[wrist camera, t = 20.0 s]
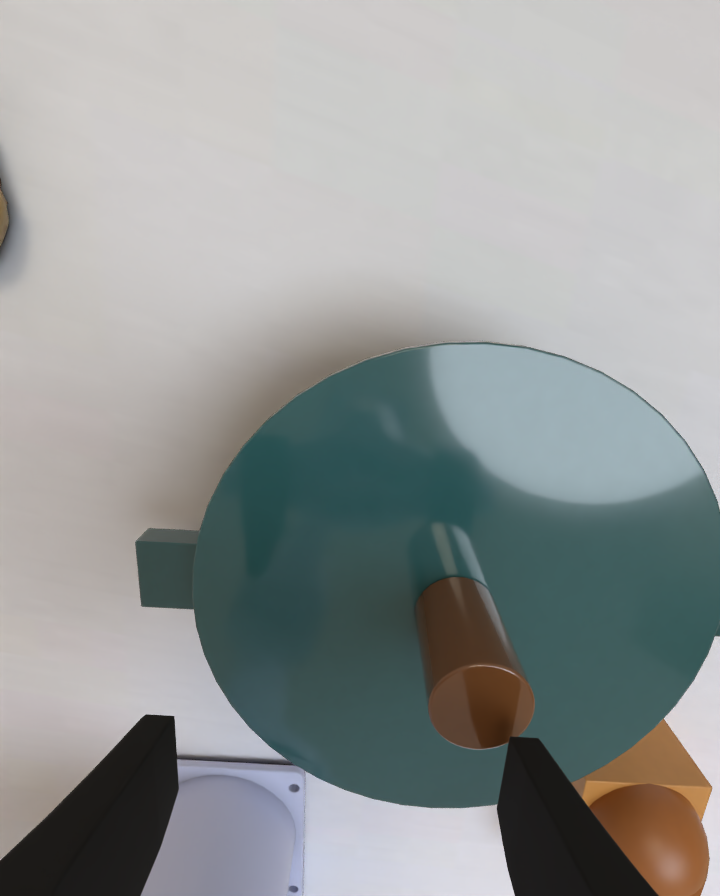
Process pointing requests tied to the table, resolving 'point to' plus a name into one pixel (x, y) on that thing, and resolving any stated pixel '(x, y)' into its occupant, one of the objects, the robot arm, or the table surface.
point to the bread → (655, 811)
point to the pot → (170, 568)
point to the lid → (457, 571)
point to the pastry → (3, 216)
